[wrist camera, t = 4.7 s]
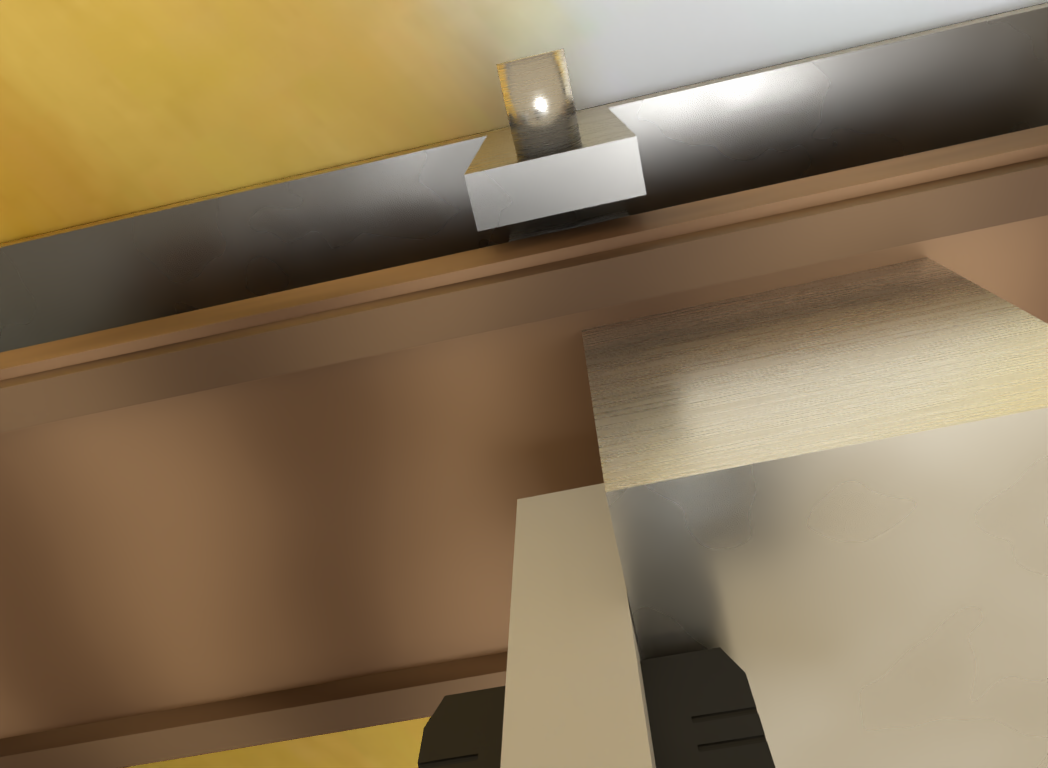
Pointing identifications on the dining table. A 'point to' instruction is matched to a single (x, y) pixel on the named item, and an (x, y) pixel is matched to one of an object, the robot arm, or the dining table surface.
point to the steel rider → (843, 509)
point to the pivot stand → (534, 175)
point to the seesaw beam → (382, 456)
